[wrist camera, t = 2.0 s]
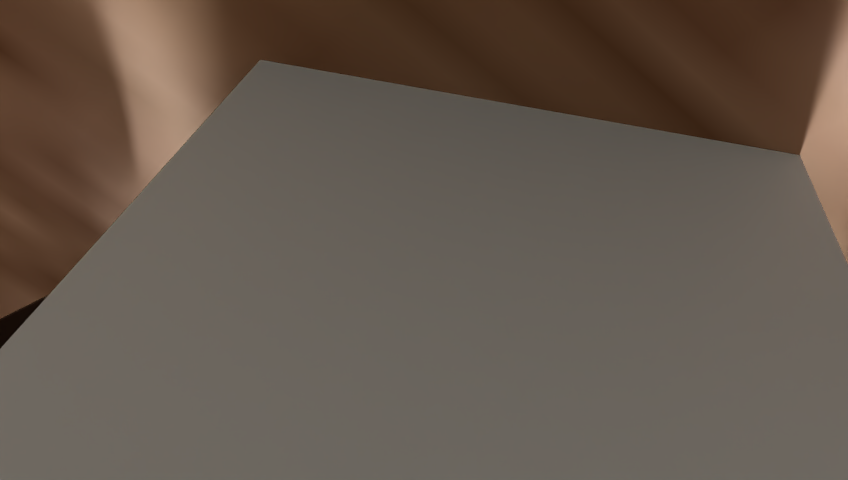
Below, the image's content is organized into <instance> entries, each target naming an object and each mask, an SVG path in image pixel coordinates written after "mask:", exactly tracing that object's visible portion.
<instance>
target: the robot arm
mask: <svg viewBox="0 0 848 480" xmlns="http://www.w3.org/2000/svg"><path fill="white" fill-rule="evenodd" d="M47 296H48V295H47ZM47 296H45V297H43V298H41V299H39V300H37V301H35V302H33V303H31V304H29V305H27V306H25V307H23V308H21V309H19V310H17V311H15V312H13V313H11V314H9V315H7V316H5V317H3V318H1V319H0V349H1V347H2V346H3V345H4V344H5V343H6V342H7V341H8V340H9V339H10V337H11V336H12V335H13V334H14V333H15V332H16V331H17V330H18V329H19V327H20V326H21V325H22V324H23V323H24V322H25V321H26V320H27V319H28V317H29V316H30V315H31V314H32V313H33V312H34V311H35V310H36V308H37V307H38V306H39V305H40V304H41V303H42V302H43V301H44V300H45V298H46V297H47Z"/></svg>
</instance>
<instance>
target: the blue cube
mask: <svg viewBox="0 0 848 480" xmlns="http://www.w3.org/2000/svg"><path fill="white" fill-rule="evenodd" d="M0 480H848V264H847V262H846V260H845V257H844V255H843V253H842V251H841V248H840V246H839V244H838V241H837V239H836V237H835V235H834V232H833V230H832V228H831V225H830V223H829V221H828V219H827V216H826V214H825V212H824V210H823V207H822V205H821V203H820V200H819V198H818V196H817V194H816V191H815V189H814V187H813V184H812V182H811V180H810V178H809V175H808V173H807V171H806V169H805V166H804V164H803V162H802V159H801V157H800V155H796V154H790V153H785V152H779V151H774V150H768V149H762V148H757V147H751V146H745V145H740V144H734V143H728V142H723V141H717V140H711V139H706V138H700V137H694V136H689V135H683V134H677V133H672V132H666V131H661V130H655V129H649V128H644V127H638V126H632V125H627V124H621V123H615V122H610V121H604V120H598V119H593V118H587V117H581V116H576V115H570V114H564V113H559V112H553V111H547V110H542V109H536V108H531V107H525V106H519V105H514V104H508V103H502V102H497V101H491V100H485V99H480V98H474V97H468V96H463V95H457V94H451V93H446V92H440V91H434V90H429V89H423V88H418V87H412V86H406V85H401V84H395V83H389V82H384V81H378V80H372V79H367V78H361V77H355V76H350V75H344V74H338V73H333V72H327V71H321V70H316V69H310V68H304V67H299V66H293V65H288V64H282V63H276V62H271V61H265V60H259V61H258V63H257V64H256V65H255V66H254V67H253V68H252V69H251V70H250V71H249V73H248V74H247V75H246V76H245V77H244V78H243V79H242V80H241V81H240V83H239V84H238V85H237V86H236V87H235V88H234V89H233V90H232V91H231V93H230V94H229V95H228V96H227V97H226V98H225V99H224V100H223V102H222V103H221V104H220V105H219V106H218V107H217V108H216V109H215V110H214V112H213V113H212V114H211V115H210V116H209V117H208V118H207V119H206V120H205V122H204V123H203V124H202V125H201V126H200V127H199V128H198V129H197V130H196V132H195V133H194V134H193V135H192V136H191V137H190V138H189V139H188V140H187V142H186V143H185V144H184V145H183V146H182V147H181V148H180V149H179V150H178V152H177V153H176V154H175V155H174V156H173V157H172V158H171V159H170V160H169V162H168V163H167V164H166V165H165V166H164V167H163V168H162V169H161V171H160V172H159V173H158V174H157V175H156V176H155V177H154V178H153V179H152V181H151V182H150V183H149V184H148V185H147V186H146V187H145V188H144V189H143V191H142V192H141V193H140V194H139V195H138V196H137V197H136V198H135V199H134V201H133V202H132V203H131V204H130V205H129V206H128V207H127V208H126V209H125V211H124V212H123V213H122V214H121V215H120V216H119V217H118V218H117V219H116V221H115V222H114V223H113V224H112V225H111V226H110V227H109V228H108V229H107V231H106V232H105V233H104V234H103V235H102V236H101V237H100V238H99V240H98V241H97V242H96V243H95V244H94V245H93V246H92V247H91V248H90V250H89V251H88V252H87V253H86V254H85V255H84V256H83V257H82V258H81V260H80V261H79V262H78V263H77V264H76V265H75V266H74V267H73V268H72V270H71V271H70V272H69V273H68V274H67V275H66V276H65V277H64V278H63V280H62V281H61V282H60V283H59V284H58V285H57V286H56V287H55V288H54V290H53V291H52V292H51V293H50V294H49V295H48V296H47V297H46V298H45V300H44V301H43V302H42V303H41V304H40V305H39V306H38V307H37V308H36V310H35V311H34V312H33V313H32V314H31V315H30V316H29V317H28V319H27V320H26V321H25V322H24V323H23V324H22V325H21V326H20V327H19V329H18V330H17V331H16V332H15V333H14V334H13V335H12V336H11V337H10V339H9V340H8V341H7V342H6V343H5V344H4V345H3V346H2V347H1V349H0Z"/></svg>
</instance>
